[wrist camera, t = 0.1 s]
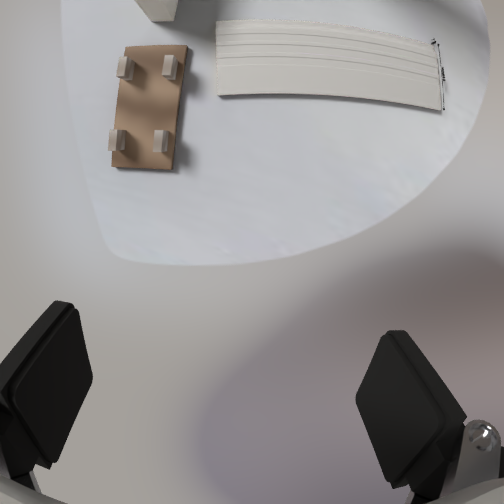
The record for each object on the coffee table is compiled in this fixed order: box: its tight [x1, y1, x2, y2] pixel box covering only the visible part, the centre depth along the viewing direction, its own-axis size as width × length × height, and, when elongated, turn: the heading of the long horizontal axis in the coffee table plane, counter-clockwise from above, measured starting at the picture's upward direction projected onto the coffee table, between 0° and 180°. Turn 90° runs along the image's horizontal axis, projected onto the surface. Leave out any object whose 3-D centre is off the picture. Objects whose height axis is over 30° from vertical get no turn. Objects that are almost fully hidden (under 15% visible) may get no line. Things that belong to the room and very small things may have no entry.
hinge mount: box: [108, 45, 188, 170], centre depth 31 cm, size 16×8×4 cm, turn 173°
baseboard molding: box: [216, 20, 445, 111], centre depth 31 cm, size 31×3×12 cm
